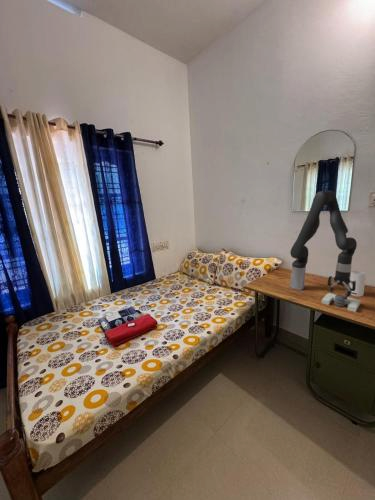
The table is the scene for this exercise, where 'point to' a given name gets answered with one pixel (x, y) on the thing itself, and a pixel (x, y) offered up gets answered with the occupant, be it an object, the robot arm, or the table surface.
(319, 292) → the table surface
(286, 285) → the table surface
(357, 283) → the cup
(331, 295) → the board
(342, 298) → the grooved grey cylinder
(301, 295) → the table surface
